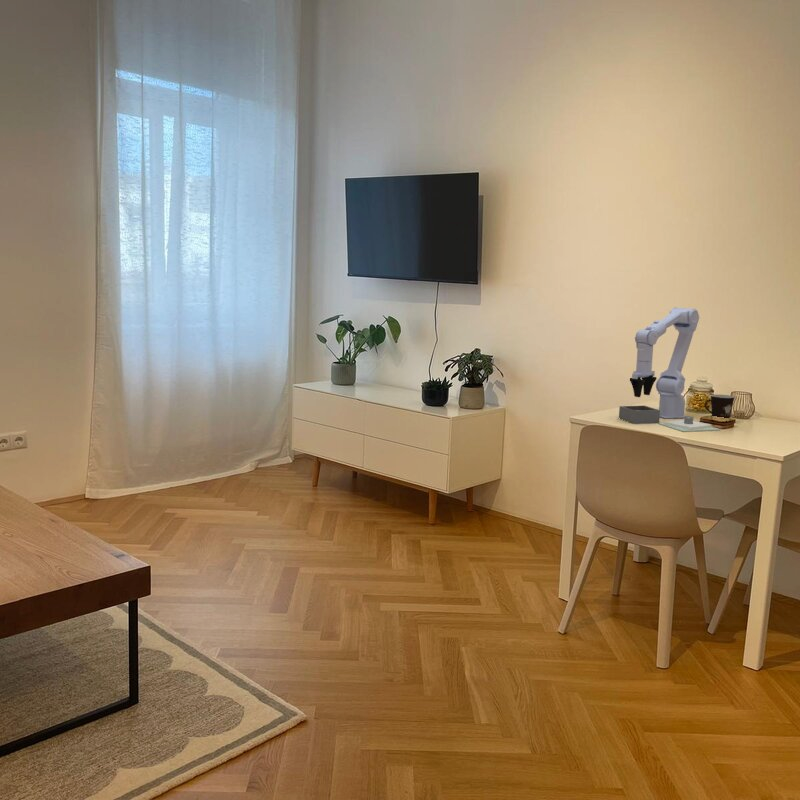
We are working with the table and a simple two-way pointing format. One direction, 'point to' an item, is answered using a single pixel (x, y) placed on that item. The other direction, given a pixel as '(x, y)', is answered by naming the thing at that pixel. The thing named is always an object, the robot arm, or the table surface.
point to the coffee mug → (721, 405)
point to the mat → (690, 430)
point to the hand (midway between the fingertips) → (642, 395)
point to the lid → (688, 424)
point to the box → (639, 414)
